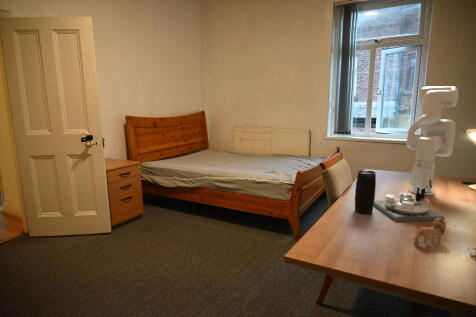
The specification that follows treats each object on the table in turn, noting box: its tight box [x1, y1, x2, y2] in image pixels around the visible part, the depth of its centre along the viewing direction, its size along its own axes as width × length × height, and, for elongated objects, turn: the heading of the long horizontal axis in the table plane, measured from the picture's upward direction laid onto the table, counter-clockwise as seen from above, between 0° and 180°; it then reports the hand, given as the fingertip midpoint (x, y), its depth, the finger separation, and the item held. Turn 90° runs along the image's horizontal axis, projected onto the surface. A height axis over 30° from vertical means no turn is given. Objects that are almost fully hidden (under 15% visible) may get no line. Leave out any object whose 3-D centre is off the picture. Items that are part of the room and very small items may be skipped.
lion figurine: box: [413, 218, 447, 248], centre depth 113 cm, size 15×5×9 cm, turn 118°
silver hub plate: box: [384, 191, 431, 215], centre depth 145 cm, size 18×18×5 cm
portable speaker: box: [354, 170, 377, 215], centre depth 144 cm, size 9×9×20 cm
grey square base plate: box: [373, 200, 445, 222], centre depth 146 cm, size 22×22×2 cm
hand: (419, 200), depth 146 cm, fingers closed
